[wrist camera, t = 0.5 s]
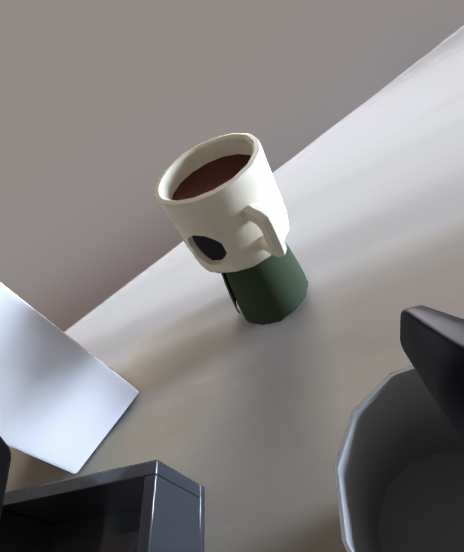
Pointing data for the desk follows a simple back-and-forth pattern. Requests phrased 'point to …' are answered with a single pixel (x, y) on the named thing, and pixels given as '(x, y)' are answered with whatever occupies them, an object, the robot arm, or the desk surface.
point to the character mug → (235, 223)
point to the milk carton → (53, 389)
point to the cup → (400, 472)
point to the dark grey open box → (107, 513)
